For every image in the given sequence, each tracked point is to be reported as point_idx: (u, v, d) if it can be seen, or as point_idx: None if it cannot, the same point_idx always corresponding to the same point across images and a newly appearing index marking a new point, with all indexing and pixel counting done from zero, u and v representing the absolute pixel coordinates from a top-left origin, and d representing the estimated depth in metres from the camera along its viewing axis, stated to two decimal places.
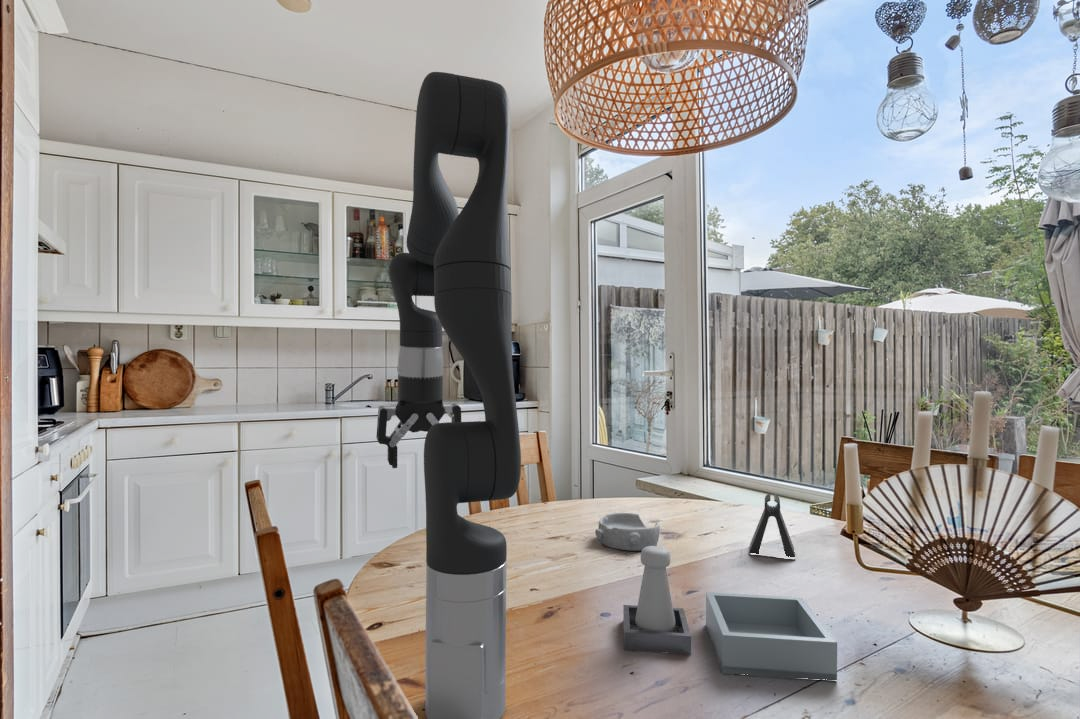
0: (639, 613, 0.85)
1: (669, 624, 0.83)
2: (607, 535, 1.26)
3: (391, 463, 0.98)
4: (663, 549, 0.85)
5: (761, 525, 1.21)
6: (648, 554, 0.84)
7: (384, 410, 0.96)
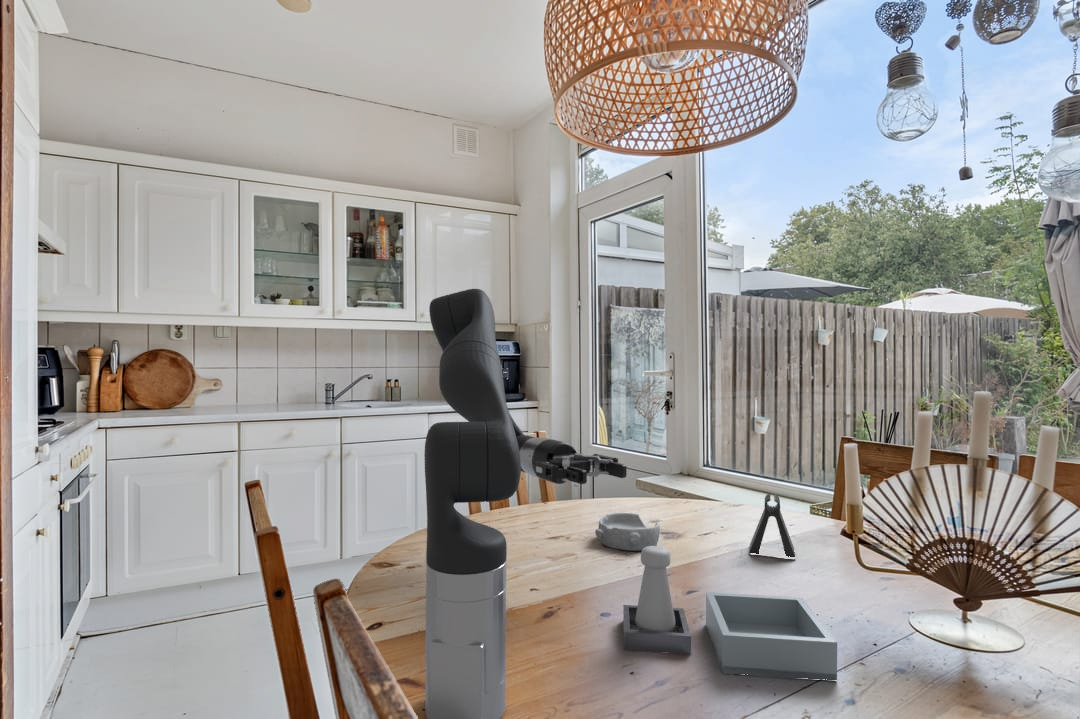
0: (639, 612, 0.85)
1: (669, 624, 0.83)
2: (607, 535, 1.26)
3: (578, 472, 0.93)
4: (663, 549, 0.85)
5: (761, 525, 1.21)
6: (648, 554, 0.84)
7: (539, 461, 0.99)
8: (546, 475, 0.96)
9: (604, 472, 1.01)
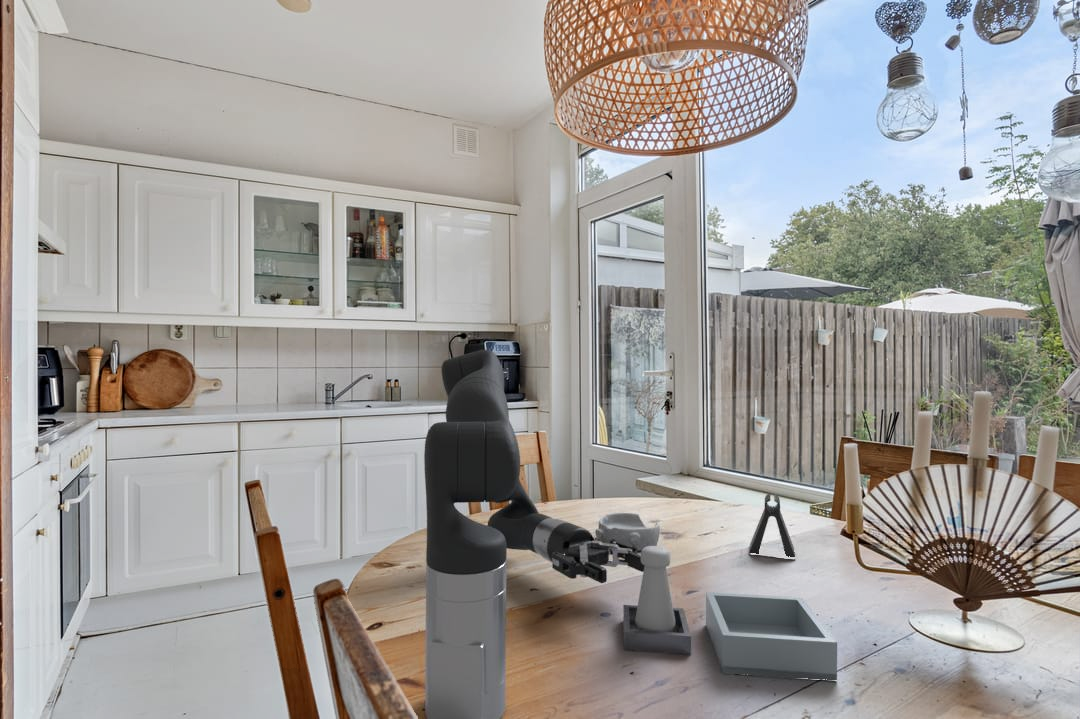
0: (639, 613, 0.85)
1: (669, 624, 0.83)
2: (607, 535, 1.26)
3: (598, 570, 0.88)
4: (663, 549, 0.85)
5: (761, 525, 1.21)
6: (648, 554, 0.84)
7: (555, 552, 0.95)
8: (563, 570, 0.92)
9: (623, 562, 0.97)
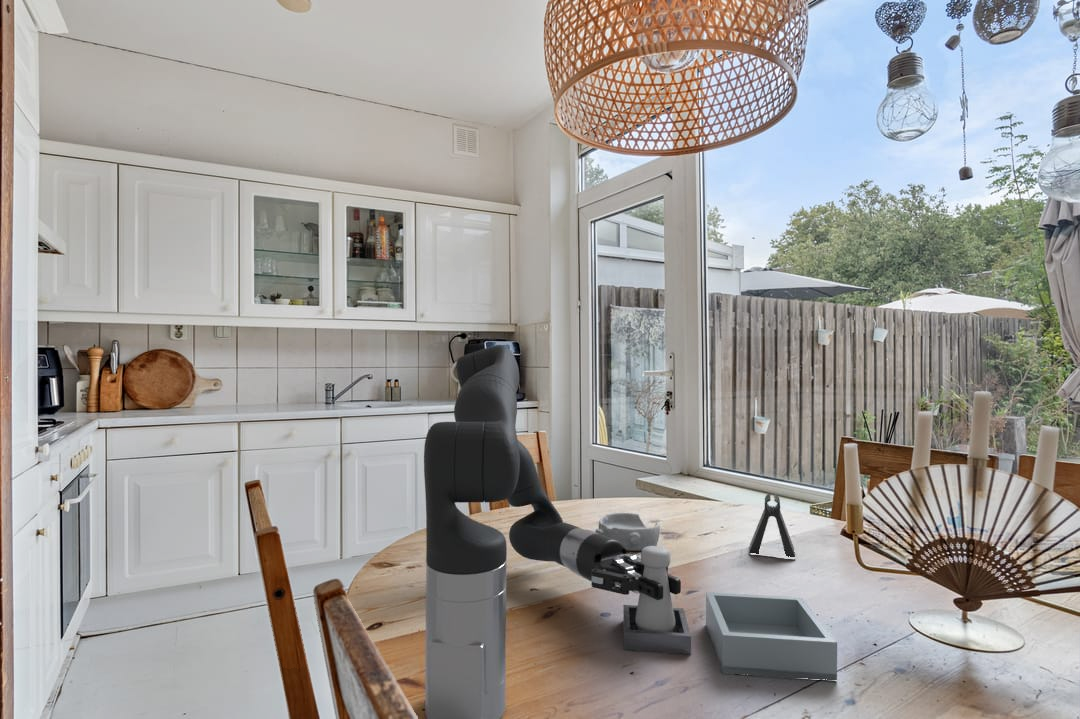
0: (639, 612, 0.85)
1: (669, 624, 0.83)
2: (607, 535, 1.26)
3: (654, 586, 0.82)
4: (663, 549, 0.85)
5: (761, 525, 1.21)
6: (648, 554, 0.84)
7: (593, 569, 0.88)
8: (612, 587, 0.85)
9: None
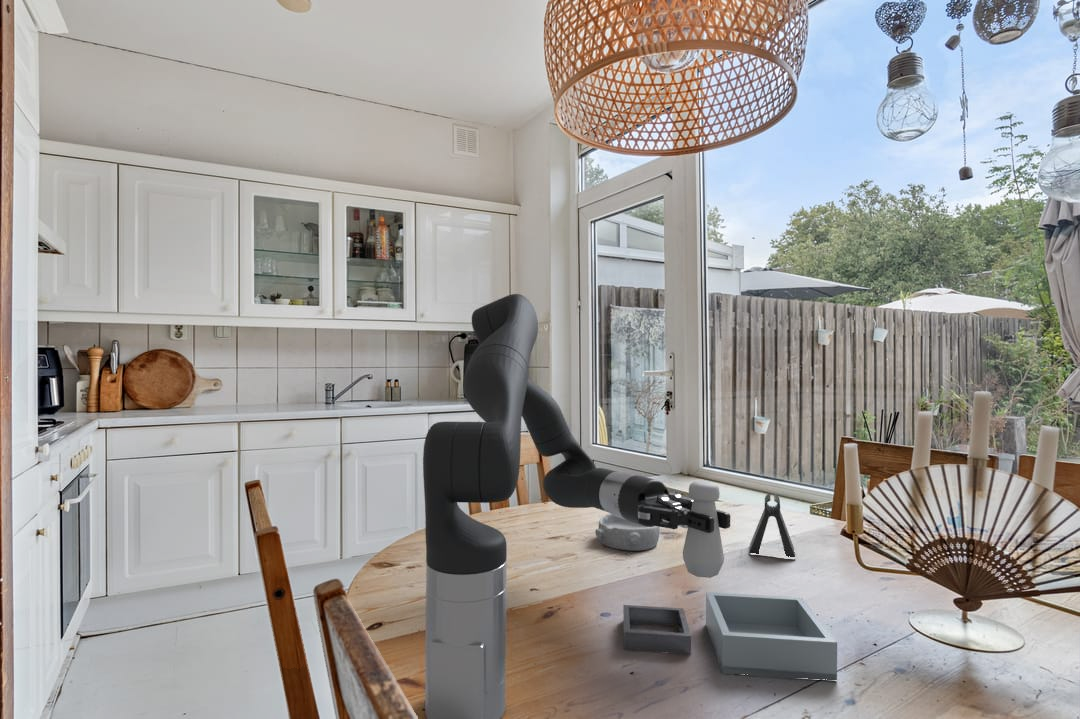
0: (687, 547, 0.83)
1: (718, 558, 0.82)
2: (607, 535, 1.26)
3: (704, 519, 0.81)
4: (712, 483, 0.84)
5: (761, 525, 1.21)
6: (697, 488, 0.83)
7: (640, 505, 0.86)
8: (660, 522, 0.84)
9: None
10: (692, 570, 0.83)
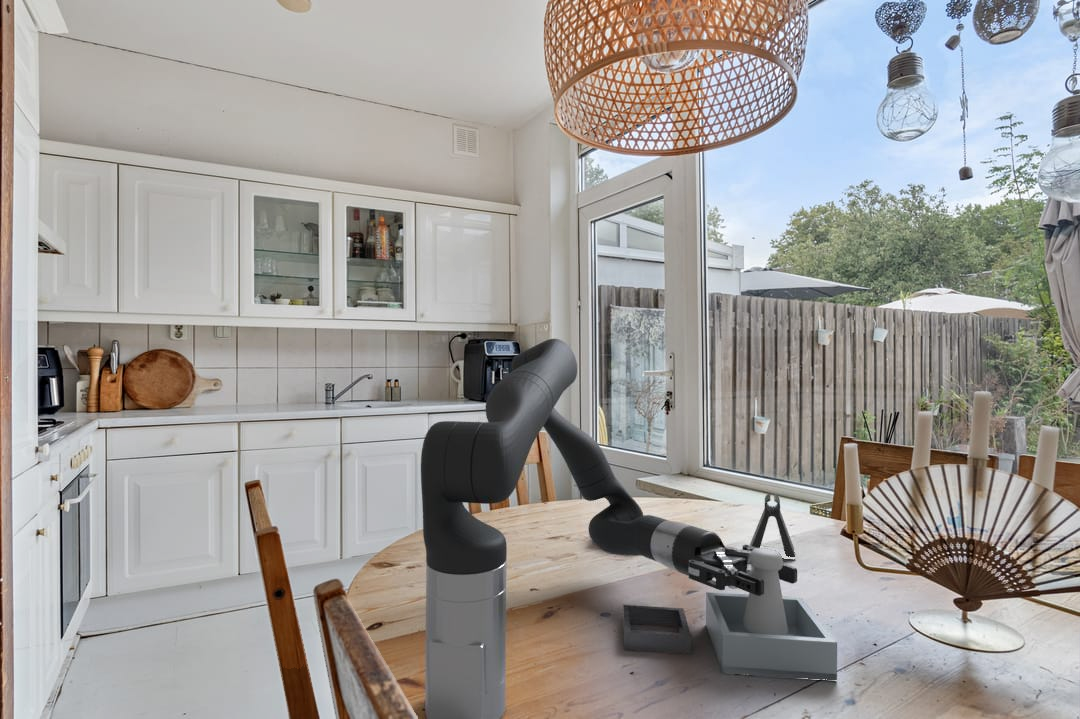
0: (749, 618, 0.81)
1: (782, 630, 0.79)
2: None
3: (754, 581, 0.78)
4: (774, 551, 0.81)
5: (761, 525, 1.21)
6: (760, 556, 0.80)
7: (691, 560, 0.85)
8: (707, 580, 0.82)
9: None
10: None
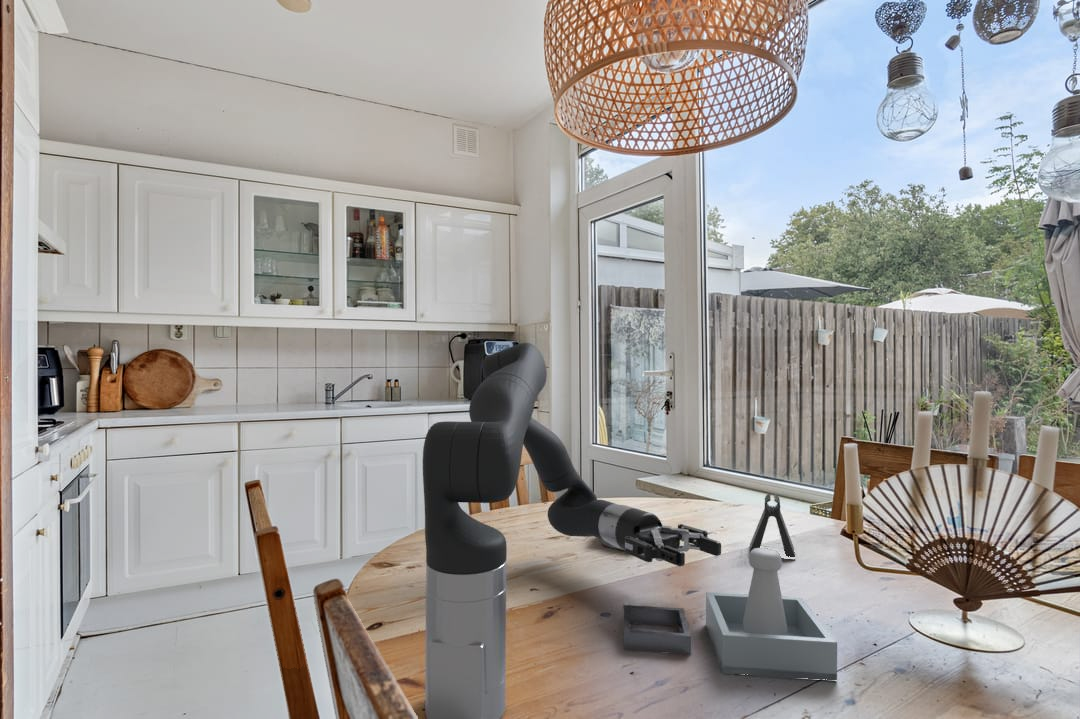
0: (749, 618, 0.81)
1: (782, 630, 0.79)
2: None
3: (676, 554, 0.89)
4: (774, 551, 0.81)
5: (761, 525, 1.21)
6: (759, 557, 0.80)
7: None
8: (638, 553, 0.92)
9: (694, 547, 0.97)
10: None
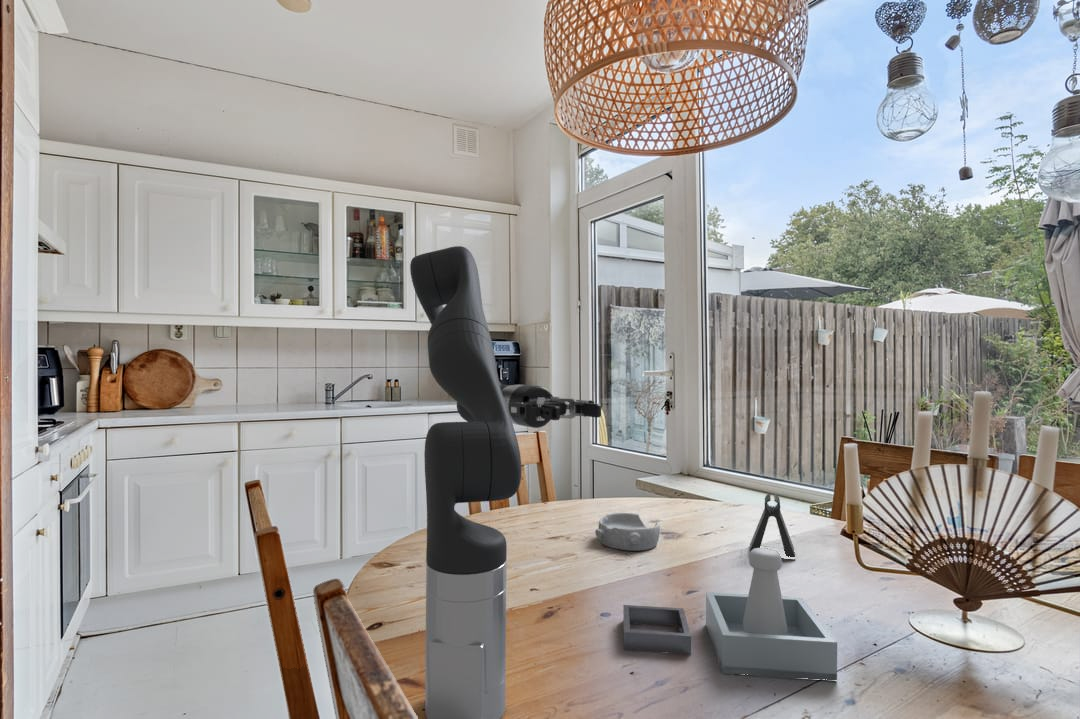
0: (749, 618, 0.81)
1: (782, 630, 0.79)
2: (607, 535, 1.26)
3: (552, 408, 0.92)
4: (773, 551, 0.81)
5: (761, 525, 1.21)
6: (759, 557, 0.80)
7: None
8: (520, 414, 0.96)
9: (579, 414, 1.00)
10: None
